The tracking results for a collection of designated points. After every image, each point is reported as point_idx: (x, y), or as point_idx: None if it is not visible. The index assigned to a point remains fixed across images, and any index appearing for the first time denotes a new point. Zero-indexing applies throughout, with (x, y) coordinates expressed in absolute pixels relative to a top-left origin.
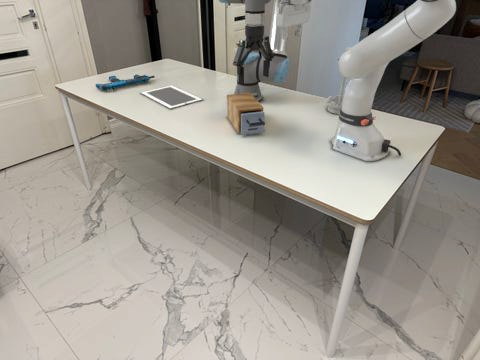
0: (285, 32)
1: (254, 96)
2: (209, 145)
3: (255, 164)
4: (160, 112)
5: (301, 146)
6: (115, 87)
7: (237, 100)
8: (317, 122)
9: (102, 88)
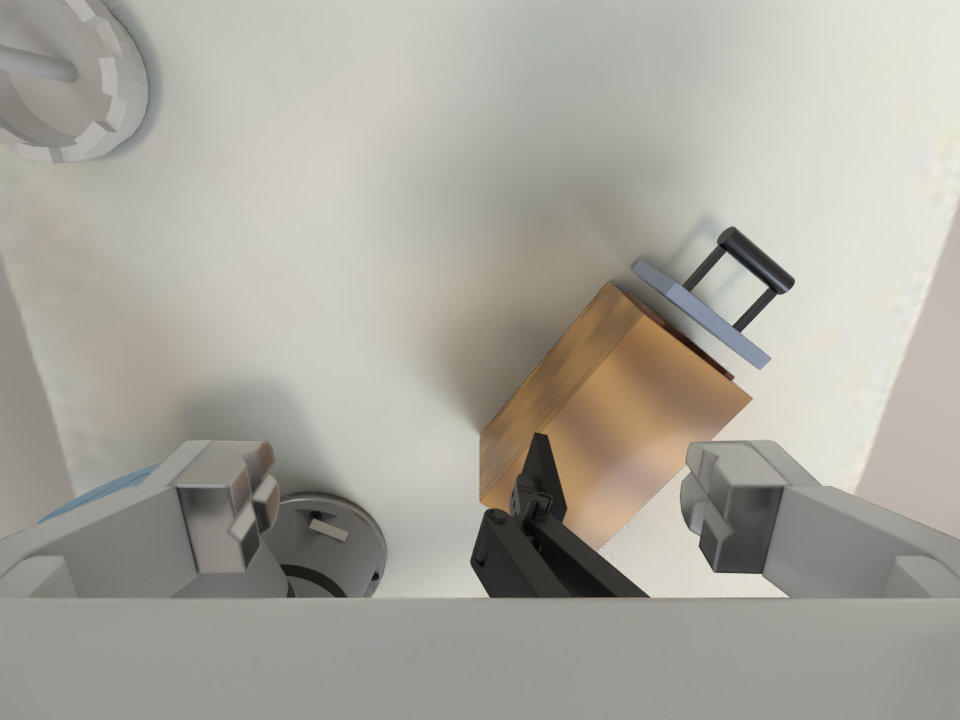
0: (908, 538)
1: (324, 521)
2: (853, 376)
3: (942, 104)
4: None
5: (665, 9)
6: None
7: (627, 481)
8: (333, 96)
9: None
